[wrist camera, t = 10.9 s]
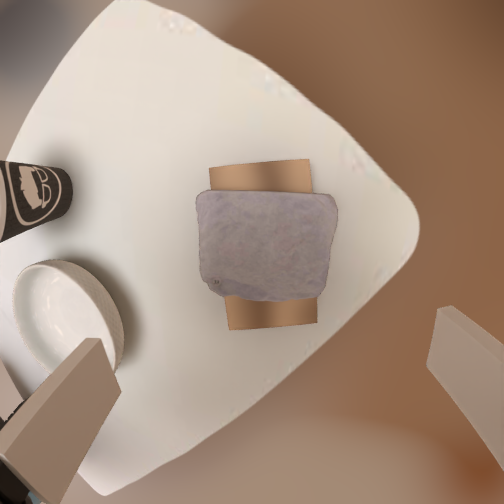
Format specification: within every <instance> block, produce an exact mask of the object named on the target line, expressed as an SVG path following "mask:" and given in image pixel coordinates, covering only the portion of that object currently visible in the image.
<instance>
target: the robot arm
mask: <svg viewBox="0 0 504 504" xmlns="http://www.w3.org/2000/svg"><path fill="white" fill-rule="evenodd" d="M426 366H427V368H428V369H429V370H430V371H431V373H432V374H433V375H434V376H435V377H436V379H437V380H438V381H439V382H440V384H441V385H442V386H443V388H444V389H445V390H446V391H447V393H448V394H449V395H450V397H451V398H452V399H453V400H454V402H455V403H456V404H457V406H458V407H459V408H460V410H461V411H462V412H463V414H464V415H465V416H466V418H467V419H468V420H469V422H470V423H471V424H472V426H473V427H474V428H475V430H476V431H477V433H478V434H479V435H480V437H481V438H482V440H483V441H484V442H485V444H486V445H487V447H488V448H489V450H490V451H491V453H492V454H493V455H494V457H495V459H496V460H497V461H498V463H499V464H500V466H501V468H502V469H503V471H504V345H503V344H502V343H500V342H499V341H498V340H497V339H495V338H494V337H493V336H492V335H490V334H489V333H488V332H486V331H485V330H484V329H483V328H481V327H480V326H479V325H477V324H476V323H474V322H473V321H472V320H471V319H469V318H468V317H467V316H465V315H464V314H463V313H461V312H460V311H459V310H457V309H456V308H454V307H453V306H447V307H443V308H439V309H438V310H437V315H436V322H435V327H434V332H433V337H432V342H431V347H430V351H429V355H428V360H427V363H426ZM120 394H121V389H120V387H119V385H118V382H117V380H116V377H115V375H114V372H113V370H112V367H111V365H110V362H109V359H108V357H107V354H106V351H105V348H104V345H103V343H102V340H101V338H87V337H86V338H85V339H84V340H83V341H82V342H81V343H80V344H79V345H78V346H77V347H76V348H75V349H74V350H73V352H72V353H71V354H70V355H69V356H68V357H67V358H66V359H65V360H64V361H63V362H62V363H61V364H60V365H59V366H58V367H57V368H56V369H55V370H54V371H53V372H52V373H51V374H50V376H49V377H48V378H47V379H46V380H45V381H44V382H43V383H42V384H41V385H40V386H39V387H38V388H37V390H36V391H35V392H34V393H33V394H32V395H31V396H30V397H29V398H28V399H26V400H25V401H23V402H22V403H21V404H20V405H19V406H18V407H17V408H16V409H15V410H14V413H12V414H11V415H10V416H9V417H8V420H6V421H5V422H4V420H3V419H2V418H1V417H0V504H40V503H41V502H44V503H46V504H60V502H61V500H62V498H63V496H64V494H65V492H66V491H67V489H68V487H69V485H70V483H71V481H72V479H73V477H74V475H75V473H76V472H77V470H78V468H79V466H80V464H81V462H82V460H83V459H84V457H85V455H86V453H87V451H88V450H89V448H90V446H91V444H92V442H93V441H94V439H95V437H96V435H97V433H98V432H99V430H100V428H101V426H102V425H103V423H104V421H105V419H106V418H107V416H108V414H109V412H110V411H111V409H112V407H113V406H114V404H115V402H116V401H117V399H118V397H119V395H120Z"/></svg>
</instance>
